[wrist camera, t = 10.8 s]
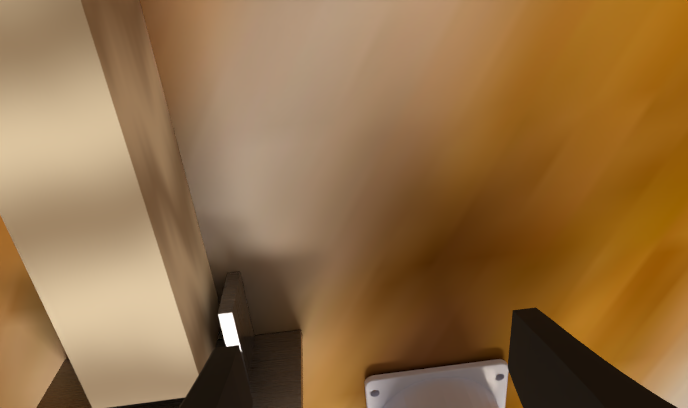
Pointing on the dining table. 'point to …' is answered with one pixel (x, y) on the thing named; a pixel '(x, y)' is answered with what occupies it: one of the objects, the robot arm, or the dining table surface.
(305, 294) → the dining table surface
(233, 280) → the bracket
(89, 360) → the rail
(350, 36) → the dining table surface
